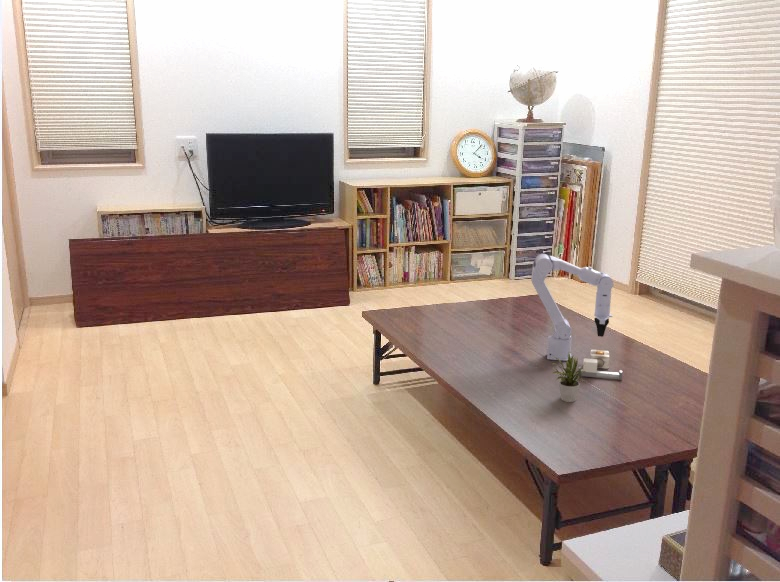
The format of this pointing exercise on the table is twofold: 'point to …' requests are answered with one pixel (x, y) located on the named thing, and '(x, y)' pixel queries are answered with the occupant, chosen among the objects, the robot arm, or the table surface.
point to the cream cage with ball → (601, 358)
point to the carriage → (590, 367)
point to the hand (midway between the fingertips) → (600, 336)
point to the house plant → (569, 380)
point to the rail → (605, 374)
